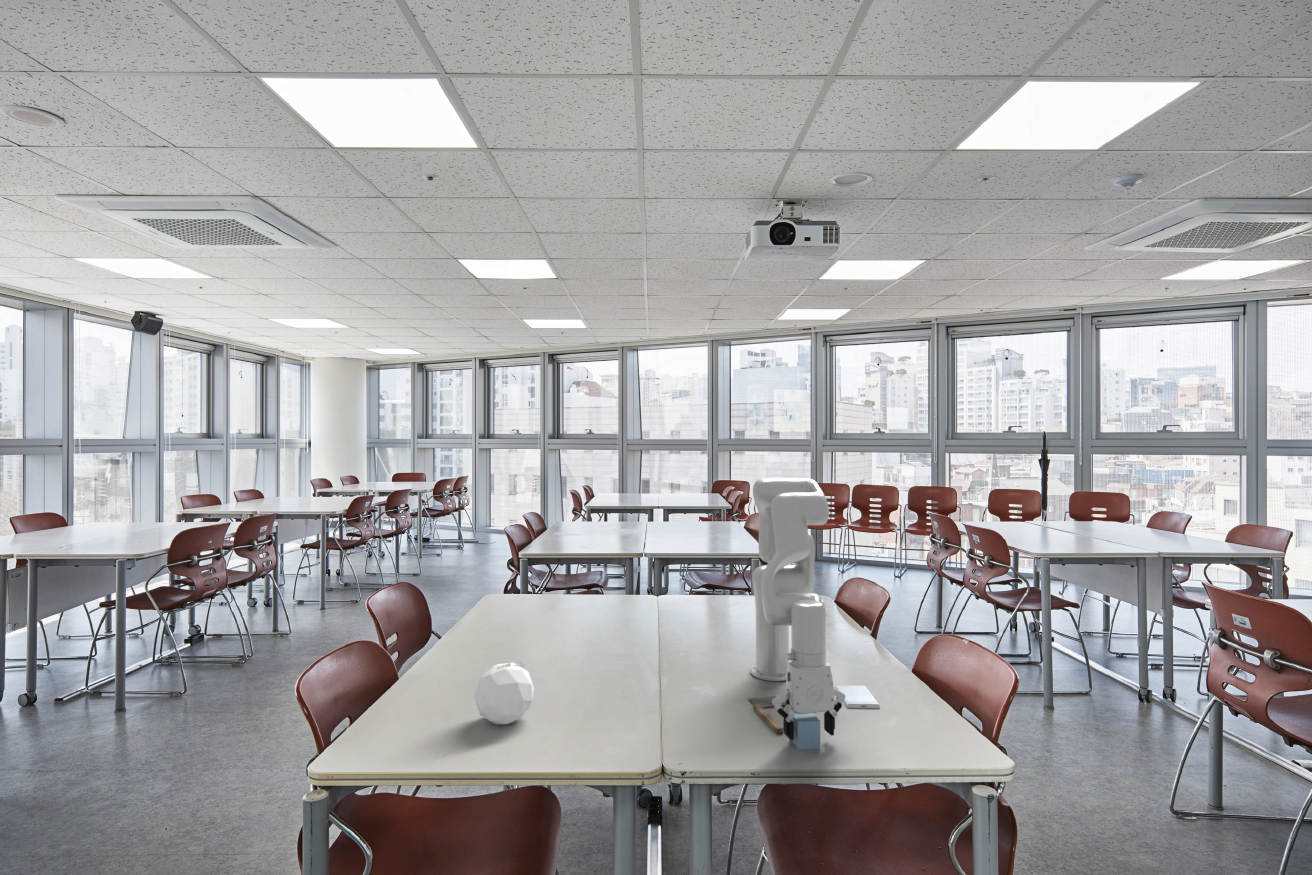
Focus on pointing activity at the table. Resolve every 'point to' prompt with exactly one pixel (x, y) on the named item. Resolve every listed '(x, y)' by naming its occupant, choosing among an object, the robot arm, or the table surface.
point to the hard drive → (858, 697)
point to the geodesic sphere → (504, 693)
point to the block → (806, 731)
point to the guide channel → (766, 703)
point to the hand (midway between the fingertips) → (809, 735)
